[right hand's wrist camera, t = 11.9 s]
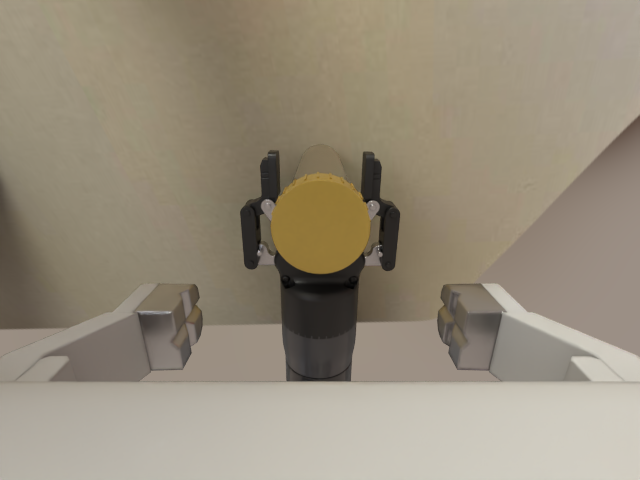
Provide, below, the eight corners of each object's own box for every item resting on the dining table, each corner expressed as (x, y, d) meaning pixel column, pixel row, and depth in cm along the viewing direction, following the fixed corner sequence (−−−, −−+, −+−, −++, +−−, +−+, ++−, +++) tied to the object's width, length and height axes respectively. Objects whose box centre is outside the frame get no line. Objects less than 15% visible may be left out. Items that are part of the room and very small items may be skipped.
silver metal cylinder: (300, 185, 36) (279, 264, 18) (299, 143, 34) (276, 184, 16) (340, 185, 36) (360, 265, 18) (341, 144, 34) (365, 185, 16)
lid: (275, 260, 19) (271, 275, 17) (271, 171, 17) (266, 177, 16) (364, 261, 19) (368, 276, 17) (370, 172, 17) (375, 178, 16)
